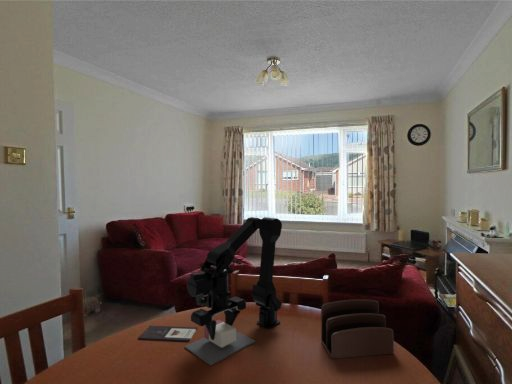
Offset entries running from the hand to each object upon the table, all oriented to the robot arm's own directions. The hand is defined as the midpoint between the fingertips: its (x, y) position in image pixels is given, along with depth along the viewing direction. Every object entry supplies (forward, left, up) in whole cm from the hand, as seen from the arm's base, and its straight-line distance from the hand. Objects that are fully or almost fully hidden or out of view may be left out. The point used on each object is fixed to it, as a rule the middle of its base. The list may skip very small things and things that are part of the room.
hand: (220, 335), depth 100 cm
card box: (0, 0, -1) cm, 1 cm away
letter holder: (-29, +33, -3) cm, 44 cm away
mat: (0, 0, -3) cm, 3 cm away
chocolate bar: (+8, -19, -4) cm, 21 cm away
